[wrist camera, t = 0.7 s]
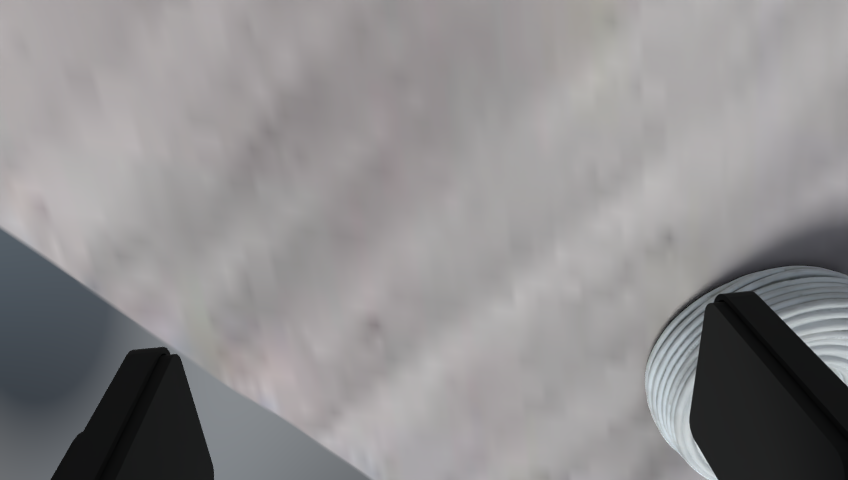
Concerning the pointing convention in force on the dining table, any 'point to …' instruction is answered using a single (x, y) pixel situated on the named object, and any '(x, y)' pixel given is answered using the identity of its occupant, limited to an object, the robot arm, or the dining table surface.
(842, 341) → the cable
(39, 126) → the dining table surface
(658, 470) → the dining table surface
